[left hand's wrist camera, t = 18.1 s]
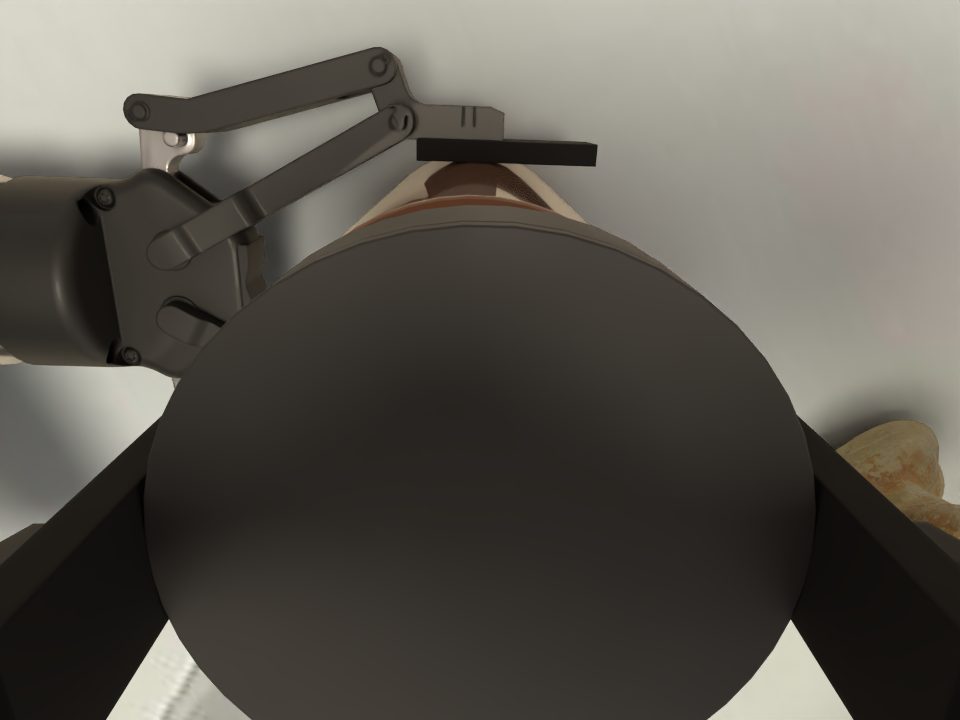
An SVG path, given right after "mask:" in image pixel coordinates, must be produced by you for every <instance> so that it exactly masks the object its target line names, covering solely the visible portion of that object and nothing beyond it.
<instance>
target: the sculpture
mask: <svg viewBox="0 0 960 720" xmlns="http://www.w3.org/2000/svg"><path fill="white" fill-rule="evenodd" d="M835 451H836V452H837V453H838V454H840V455H841V456H842V457H843V458H844V459H845V460H846V461H847V462H848V463H849V464H850V465H851V466H853V467H854V468H855V469H856V470H857V471H858V472H859V473H860V474H861V475H862V476H863V477H864V478H866V479H867V480H868V481H869V482H870V483H871V484H872V485H873V486H874V487H875V488H876V489H877V490H878V491H880V492H881V493H882V494H883V495H884V496H885V497H886V498H887V499H888V500H889V501H890V502H891V503H893V504H894V505H895V506H896V507H897V508H898V509H899V510H900V511H901V512H902V513H903V514H904V515H906V516H907V517H908V518H909V519H910V520H911V521H919V522H929V523H930V524H932V525H934V526H936V527H938V528H939V529H941V530H943V531H945V532H947V533H948V534H950V535H952V536H954V537H956V538H958V539H959V540H960V505H955V504H951V503H949V502H947V501H945V500H943V499H941V498H942V496H943V492H944V478H943V474H942V471H941V468H940V466H939V464H938V457H939V446H938V441H937V439H936V436H935V434H934V433H933V432H932V430H931V429H930V428H928V427H927V426H925V425H924V424H922V423H919V422H915V421H908V420H898V421H891V422H888V423H884V424H881V425H878V426H876V427H874V428H871V429H869V430H867V431H865V432H864V433H862V434H860V435H858V436H856V437H855V438H853V439H852V440H851V441H849V442H848V443H846V444H845V445H843V446H841V447H840V448H838V449H837V450H835Z"/></svg>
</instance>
